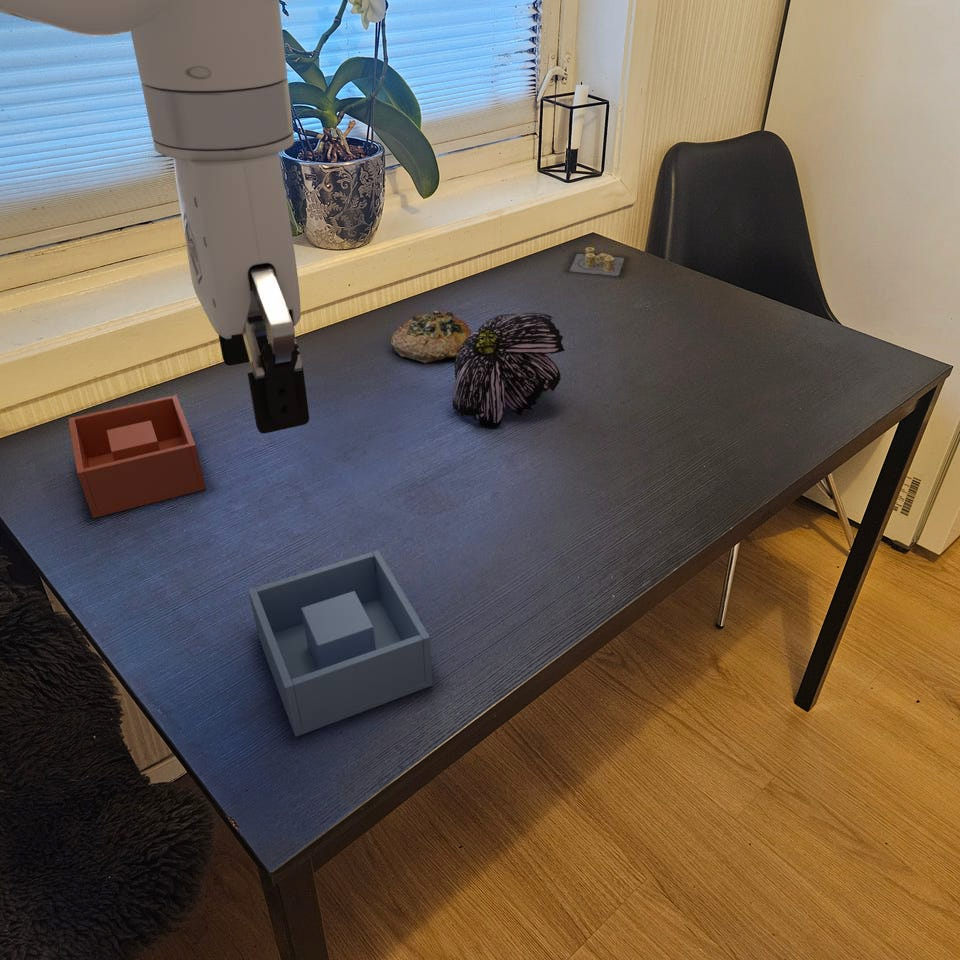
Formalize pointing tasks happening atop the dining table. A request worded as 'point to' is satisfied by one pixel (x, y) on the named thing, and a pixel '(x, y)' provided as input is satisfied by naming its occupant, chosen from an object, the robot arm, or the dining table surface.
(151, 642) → the dining table surface
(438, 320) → the bread roll
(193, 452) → the terracotta bin
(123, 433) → the terracotta block
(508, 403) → the decorative flower
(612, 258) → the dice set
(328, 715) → the slate bin
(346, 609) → the slate block
